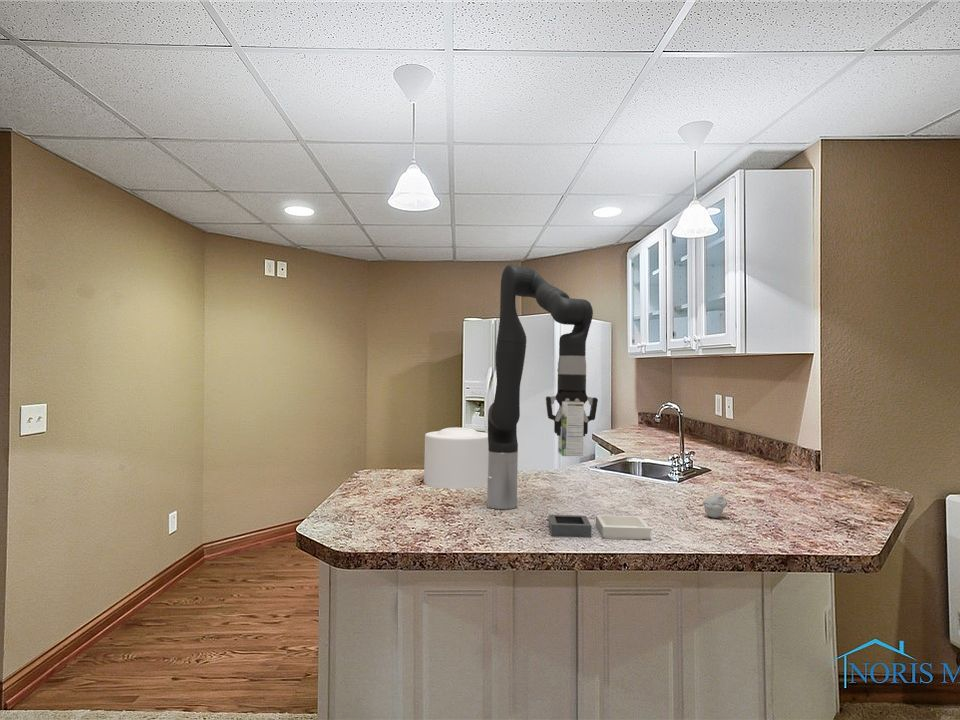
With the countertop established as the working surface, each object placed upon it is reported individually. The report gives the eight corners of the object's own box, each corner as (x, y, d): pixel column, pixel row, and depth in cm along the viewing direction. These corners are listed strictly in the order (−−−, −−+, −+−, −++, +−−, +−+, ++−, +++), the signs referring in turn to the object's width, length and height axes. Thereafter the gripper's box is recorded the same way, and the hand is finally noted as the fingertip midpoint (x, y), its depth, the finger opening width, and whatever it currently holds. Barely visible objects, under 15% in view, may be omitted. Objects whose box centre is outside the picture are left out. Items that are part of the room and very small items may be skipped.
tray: (603, 538, 148) (603, 527, 148) (595, 525, 160) (595, 515, 160) (650, 540, 148) (650, 528, 148) (639, 527, 160) (639, 516, 160)
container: (430, 474, 232) (431, 424, 232) (493, 477, 229) (493, 426, 230) (417, 487, 207) (418, 431, 207) (487, 490, 204) (488, 433, 205)
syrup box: (557, 453, 158) (557, 399, 158) (578, 453, 158) (579, 399, 158) (562, 456, 152) (562, 401, 152) (584, 456, 152) (584, 401, 153)
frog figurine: (728, 521, 168) (728, 497, 168) (702, 519, 170) (703, 495, 170) (726, 516, 174) (726, 492, 174) (701, 514, 176) (701, 491, 176)
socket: (551, 536, 150) (551, 524, 150) (548, 525, 160) (548, 514, 160) (591, 537, 149) (591, 525, 149) (585, 526, 160) (585, 515, 160)
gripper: (545, 372, 152) (544, 436, 152) (601, 373, 151) (600, 438, 151) (544, 372, 159) (542, 433, 159) (596, 373, 159) (595, 434, 158)
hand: (570, 435), depth 155 cm, fingers closed on syrup box, 6 cm apart
